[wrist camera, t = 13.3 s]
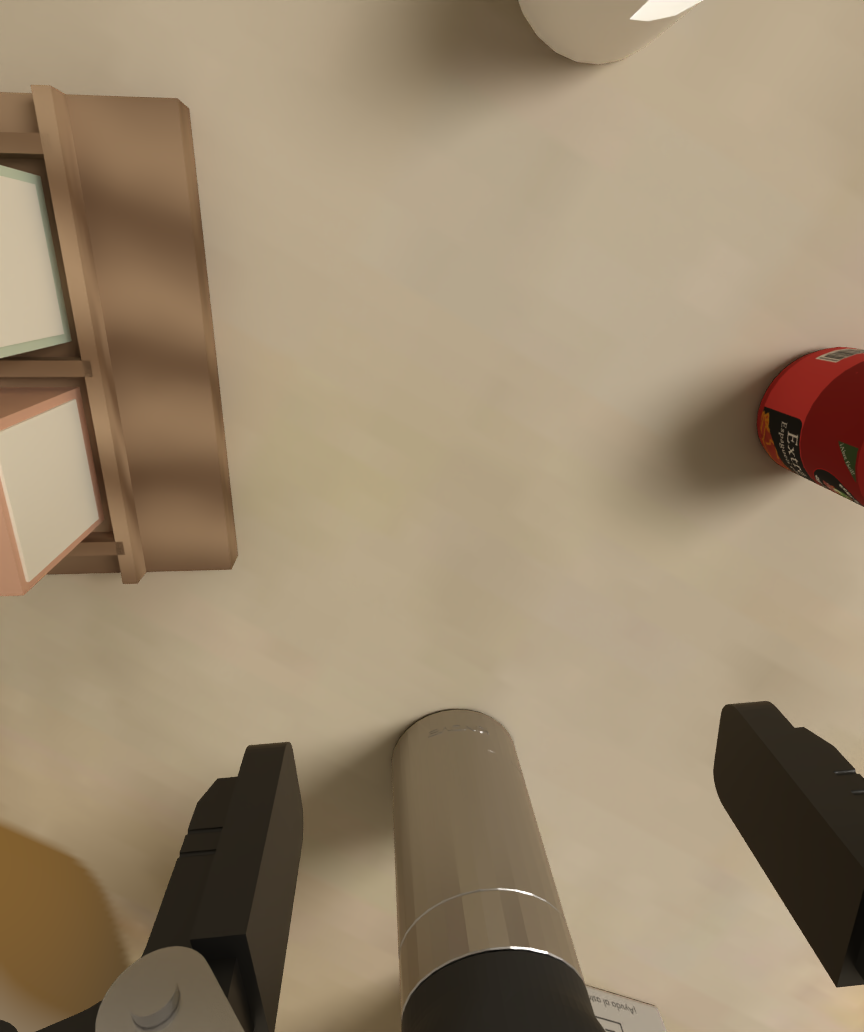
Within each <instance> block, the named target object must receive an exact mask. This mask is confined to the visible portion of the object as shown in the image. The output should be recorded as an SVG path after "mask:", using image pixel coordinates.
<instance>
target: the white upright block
mask: <svg viewBox="0 0 864 1032" xmlns="http://www.w3.org/2000/svg"><path fill="white" fill-rule="evenodd" d="M701 1H702V0H518V2H519V5H520V7H521V10H522V13H523V15H524V16H525V18H526V20H527V21H528V23H529V24H530V26H531V27H532V29H533V30H534V32H535V33H536V35H537V36H538V37H539V38H540V39H541V40H542V41H543V42H544V43H546V44H547V45H548V46H549V47H550V48H551V49H552V50H554V51H555V52H556V53H558V54H560V55H562V56H565V57H567V58H569V59H571V60H573V61H576V62H580V63H589V64H599V65H600V64H605V63H610V62H614V61H619V60H623V59H625V58H627V57H628V56H630V55H632V54H634V53H636V52H638V51H639V50H641V49H643V48H645V47H646V46H647V45H648V44H650V43H651V42H652V41H653V40H654V39H656V38H657V37H658V36H659V35H661V34H662V33H663V32H664V31H666V30H667V29H668V28H669V27H670V26H672V25H673V24H674V23H675V22H677V21H678V20H679V19H680V18H682V17H683V16H684V15H685V14H686V13H688V12H689V11H690V10H691V9H693V8H694V7H695V6H696V5H697V4H699V3H700V2H701Z"/></svg>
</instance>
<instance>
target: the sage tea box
mask: <svg viewBox="0 0 864 1032" xmlns="http://www.w3.org/2000/svg"><path fill="white" fill-rule="evenodd" d="M70 341H72V340H71V335H70V329H69V324H68V319H67V314H66V308H65V303H64V298H63V293H62V287H61V282H60V277H59V272H58V266H57V261H56V256H55V251H54V245H53V240H52V235H51V230H50V224H49V219H48V214H47V209H46V203H45V198H44V193H43V188H42V182H41V177H40V176H38V175H34V174H31V173H27V172H23V171H20V170H16V169H13V168H9V167H6V166H2V165H0V358H4V357H8V356H12V355H16V354H20V353H24V352H29V351H33V350H37V349H41V348H45V347H50V346H54V345H58V344H62V343H66V342H70Z"/></svg>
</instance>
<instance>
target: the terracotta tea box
mask: <svg viewBox="0 0 864 1032" xmlns="http://www.w3.org/2000/svg"><path fill="white" fill-rule="evenodd" d="M104 520H105V519H104V514H103V508H102V503H101V498H100V493H99V487H98V482H97V477H96V471H95V466H94V461H93V456H92V450H91V445H90V440H89V434H88V429H87V424H86V418H85V413H84V408H83V403H82V397H81V392H80V387H0V596H19V595H25V594H26V593H27V592H28V591H29V590H30V589H31V588H32V587H33V586H34V585H35V584H36V583H37V582H38V581H40V580H41V579H42V578H43V577H44V576H45V575H46V574H47V573H48V572H49V571H50V570H51V569H52V568H53V567H54V566H56V565H57V564H58V563H59V562H60V561H61V560H62V559H63V558H64V557H65V556H66V555H67V554H68V553H69V552H71V551H72V550H73V549H74V548H75V547H76V546H77V545H78V544H79V543H80V542H81V541H82V540H83V539H84V538H85V537H87V536H88V535H89V534H90V533H91V532H92V531H93V530H94V529H95V528H96V527H97V526H98V525H99V524H100V523H102V522H103V521H104Z"/></svg>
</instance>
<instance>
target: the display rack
mask: <svg viewBox="0 0 864 1032" xmlns="http://www.w3.org/2000/svg"><path fill="white" fill-rule="evenodd" d="M31 89H32V93H7V92H0V165H2V166H6V167H9V168H13V169H16V170H20V171H23V172H27V173H31V174H34V175H38V176H40V177H41V182H42V188H43V193H44V198H45V203H46V209H47V214H48V219H49V224H50V230H51V235H52V240H53V245H54V251H55V256H56V261H57V266H58V272H59V277H60V282H61V287H62V293H63V298H64V303H65V308H66V314H67V319H68V324H69V329H70V335H71V340H72V341H70V342H66V343H62V344H58V345H54V346H50V347H45V348H41V349H37V350H33V351H29V352H24V353H20V354H16V355H12V356H8V357H4V358H0V387H80V392H81V397H82V403H83V408H84V413H85V418H86V424H87V429H88V434H89V440H90V445H91V450H92V456H93V461H94V466H95V471H96V477H97V482H98V487H99V493H100V498H101V503H102V508H103V514H104V519H105V520H104V521H103V522H102V523H100V524H99V525H98V526H97V527H96V528H95V529H94V530H93V531H92V532H91V533H90V534H89V535H88V536H87V537H85V538H84V539H83V540H82V541H81V542H80V543H79V544H78V545H77V546H76V547H75V548H74V549H73V550H72V551H71V552H69V553H68V554H67V555H66V556H65V557H64V558H63V559H62V560H61V561H60V562H59V563H58V564H57V565H56V566H54V567H53V568H52V569H51V570H50V571H49V572H48V573H47V574H83V573H120V572H121V576H122V581H123V584H137V583H138V582H139V581H140V580H141V578H142V577H143V576H144V574H145V573H146V572H156V571H193V570H229V569H232V567H233V565H234V563H235V561H236V558H237V556H238V552H237V542H236V533H235V524H234V515H233V506H232V497H231V488H230V478H229V469H228V460H227V451H226V442H225V433H224V423H223V414H222V405H221V396H220V387H219V378H218V368H217V359H216V350H215V341H214V332H213V323H212V313H211V304H210V295H209V286H208V277H207V268H206V259H205V249H204V240H203V231H202V222H201V213H200V204H199V194H198V185H197V176H196V167H195V158H194V149H193V139H192V130H191V121H190V112H189V108H188V107H187V106H186V105H184V104H183V103H182V102H181V101H180V100H179V99H178V98H151V97H122V96H93V95H66V94H64V93H62V92H61V91H59V90H57V89H55V88H54V87H52V86H47V85H31Z"/></svg>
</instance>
